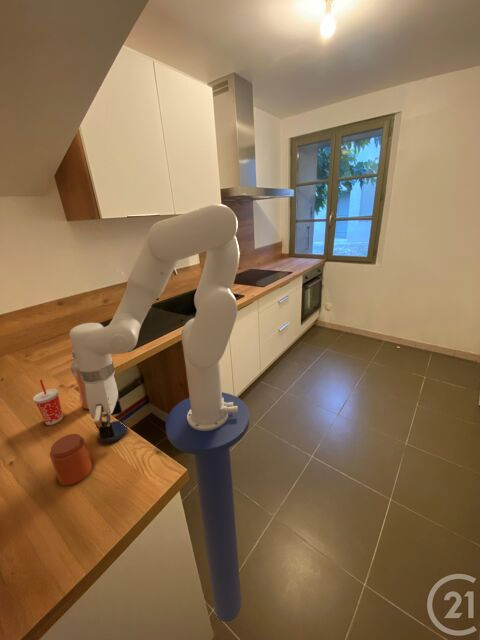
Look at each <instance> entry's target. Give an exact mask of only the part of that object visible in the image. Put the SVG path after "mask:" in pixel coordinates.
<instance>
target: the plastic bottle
mask: <svg viewBox="0 0 480 640" xmlns="http://www.w3.org/2000/svg"><path fill="white" fill-rule="evenodd" d="M71 356H72V358H73V360H72V362H71V365H70V371H71V372H72V375H73V377H74V379H75V381H76V384H77V386H78V393H79V394H78V395H79V404H80V405H81V407H82V408H83V409H87V410H89V407H88V402H87V398H86V391H85V383H84V382H83V380H82V377H81V374H80V370H79V367H78V363H77V360H76V357H75V353H74V350H73V349H72V350H71Z"/></svg>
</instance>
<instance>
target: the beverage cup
mask: <svg viewBox="0 0 480 640" xmlns="http://www.w3.org/2000/svg"><path fill="white" fill-rule="evenodd" d="M39 383H40V385H41V388H42V391H40V392H39V393H37V394H35V395H34V396H33V398H32V400H33V402H34V404H36V406H37V408H38V410H39V413H40V414H41V417H42V419H43V421H44V423H45V425H47V426H51V425H55V424H57V423H59V422H61V421H62V420H63V418H64V412H63V409H62V405H61V401H60V396H59V389H58V388H57V389H56V388H50V389H49V388H48V389H46V388H45V385H44V382H43V380H42V379H40V380H39Z"/></svg>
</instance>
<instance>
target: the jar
mask: <svg viewBox="0 0 480 640" xmlns="http://www.w3.org/2000/svg"><path fill="white" fill-rule="evenodd" d="M49 458H50V461H51V463H52V466H53V468H54V471H55V474H56V477H57V479H58V482H59V484H61V485H62V486H72V485H75V484H77V483H79V482H81V481H82V480H84V479H85V478H86V477H87V476H88V475H89V474H90V472H91V471H92V469H93V463H92V459H91V457H90V454H89V450H88V446H87V444H86V440H85V438H84V437H83V436H82V435H80V434H79V433H70V434H69V433H68V434H67V435H64V436H62V437H60V438H58V439H57V440H55V441H54V443H53V444H52V445H51V447H50V452H49Z"/></svg>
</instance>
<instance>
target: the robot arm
mask: <svg viewBox="0 0 480 640" xmlns="http://www.w3.org/2000/svg"><path fill="white" fill-rule="evenodd" d="M237 231H238V218H237V216H236V213H235V212H234V210H232V209H231V208H230V207H229V206H227V205H225V204H222V203H213V204H209V205H207V206H204V207H203V206H202V207H200V208H198V209H194V210H191V211H189V212H186V213H182V214H179V215H177V216H172V217H170V218H166V219H162V220H159V221H157V222H155V223H154V224H153V225H152V226H151V227H150V228H149V231H148V233H147V236H146V239H145V241H144V243H143V246H142V248H141V250H140V252H139V254H138V256H137V258H136V261H135V263H134V264H133V267H132V269H131V271H130V273H129V276H128V278H127V280H126V282H127V283H126V288H125V292H124V294H123V296H122V298H121V300H120V301H119V302H120V303H119V305H118V306H117V308H116V310H115V312H114V315H113V317H112V319H111V321H110V322H109V324H108V325H106V326H104V325H103V324H101V323H99V322H86V323H81V324H78V325H76V326H74V327H72V328H71V329H70V331H69V340H70V343H71V346H72V351H73V350H74V353H75V357H76V360H77V363H78V367H79V370H80V374H81V377H82V380H83V382H84V383H85V391H86V398H87V402H88V407H89V409H88V410H89V414H90V418H91V419H92V420H93V423H94V425H95V427H96V428H97V429H98V432H99V433H100V436H101V439H108V438H113V437H114V436H115V433H114V430H113V426H112V423H111V416H114V415H119V414H120V415H121V414H122V413H123V410H122V405H121V402H120V397H119V390H118V385H117V382H116V378H115V374H116V371H115V365H114V362H113V357H112V355H120V354H121V355H122V354H127V353H130V352H131V351H132V350H133V349H135V347H136V346H137V343H138V340H139V335H140V331H141V329H142V325H143V323H144V321H145V319H146V318H147V315H148V313H149V311H150V309H151V307H152V306H153V304H154V303H155V301H156V300H158V298H160V297H161V295H162V294H163V293H164V292H165V288H166V287H167V285H168V282H169V280H170V278H171V276H172V274H173V272H174V270H175V268H176V266H177V264H178V262H179V261H180V260H184V259H187V258H190V257H194V256H196V255H199V254H202V253H204V252H206V256H205V262H204V265H203V269H202V273H201V276H200V279H199V282H198V286H197V288H196V290H195V294H194V298H193V304H194V308H195V309H196V312H195V316H194V317H193V318H190V319H189V320H188V321H186V323H184V325H183V327H182V330H181V334H180V335H181V345H182V350H183V357H184V365H185V371H186V372H185V373H186V380H187V388H188V395H189V397H190V404H191V409H190V410H189V412H188V414H187V421H188V424H189V425H190V426H191V427H192V428H194V429H196V430H200V431H209V430H213V429H216V428H218V427H220V426H222V425H223V424H224V423H225V422H226V420H227V418H228V413H238V407H237V406H233V402H229V403H226V402H224V398H222V392H223V391H222V381H221V366H220V361H221V359H222V358H223V356H224V355H225V352H226V349H227V346H228V344H229V340H230V338H231V336H232V335H231V334H232V331H233V329H234V326H235V323H236V320H237V317H238V302H237V298H236V296H235V295H234V293H232V289H233V287H234V283H235V280H236V275H237V272H238V268H239V265H240V247H239V243H238V239H237V237H236V234H237ZM189 397H188V398H189ZM103 418H106V420H103ZM110 423H111V424H110ZM99 433H98V434H99Z"/></svg>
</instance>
